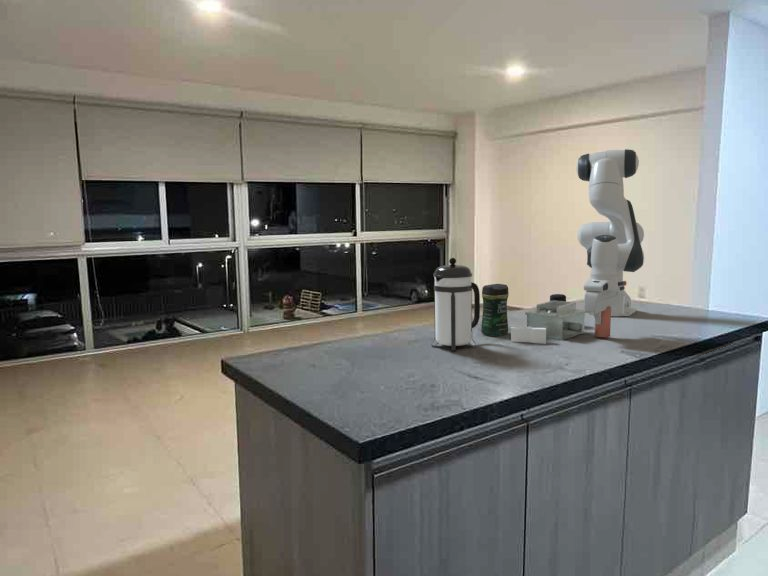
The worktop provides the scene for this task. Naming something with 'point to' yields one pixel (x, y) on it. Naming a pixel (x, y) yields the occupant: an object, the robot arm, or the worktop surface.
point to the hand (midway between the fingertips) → (602, 322)
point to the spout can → (604, 324)
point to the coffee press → (454, 305)
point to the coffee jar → (494, 310)
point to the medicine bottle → (558, 297)
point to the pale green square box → (557, 319)
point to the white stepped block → (528, 334)
